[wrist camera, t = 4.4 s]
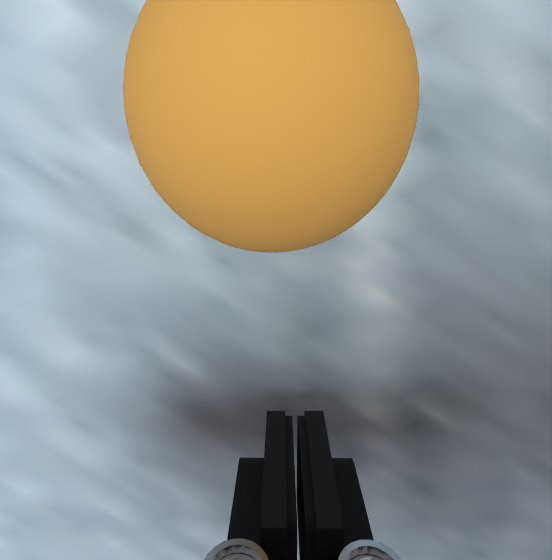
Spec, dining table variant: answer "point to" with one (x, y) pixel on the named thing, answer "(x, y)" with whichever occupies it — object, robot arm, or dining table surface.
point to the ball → (271, 113)
